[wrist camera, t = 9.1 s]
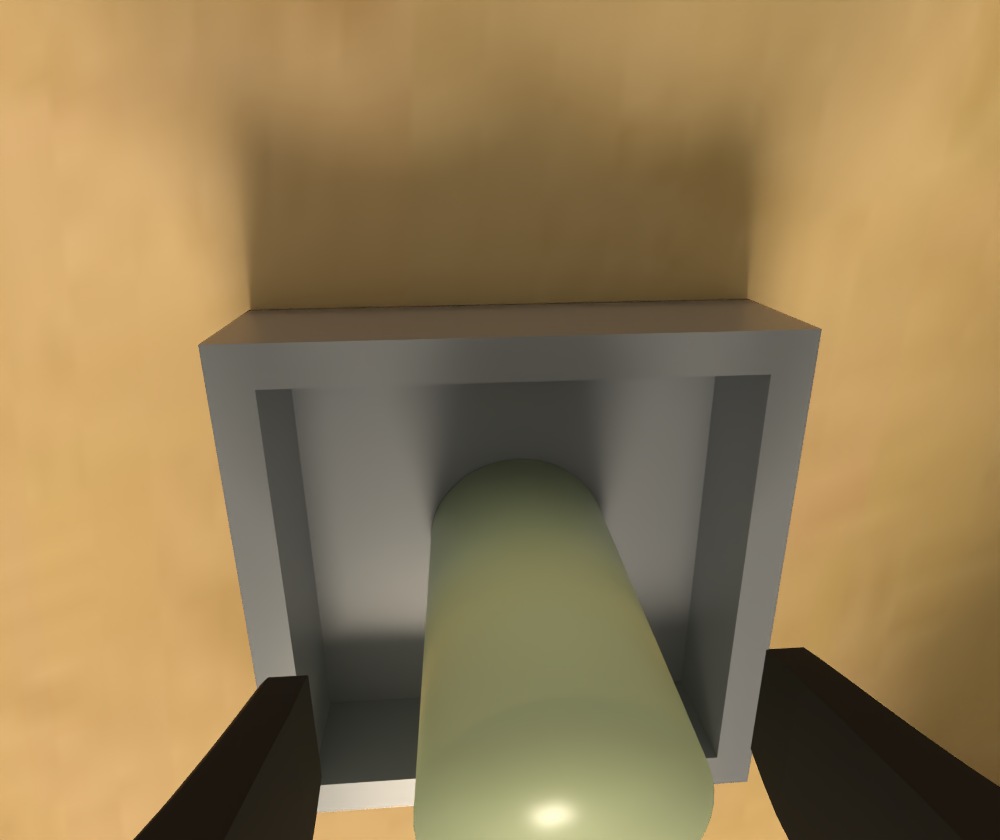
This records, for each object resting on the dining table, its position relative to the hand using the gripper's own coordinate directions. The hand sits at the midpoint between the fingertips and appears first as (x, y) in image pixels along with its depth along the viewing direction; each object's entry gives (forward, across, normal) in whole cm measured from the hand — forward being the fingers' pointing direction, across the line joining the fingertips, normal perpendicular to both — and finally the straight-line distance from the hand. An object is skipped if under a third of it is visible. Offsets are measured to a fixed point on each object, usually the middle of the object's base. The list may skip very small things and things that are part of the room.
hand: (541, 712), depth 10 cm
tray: (+6, 0, 0) cm, 6 cm away
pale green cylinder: (+5, 0, 0) cm, 5 cm away
